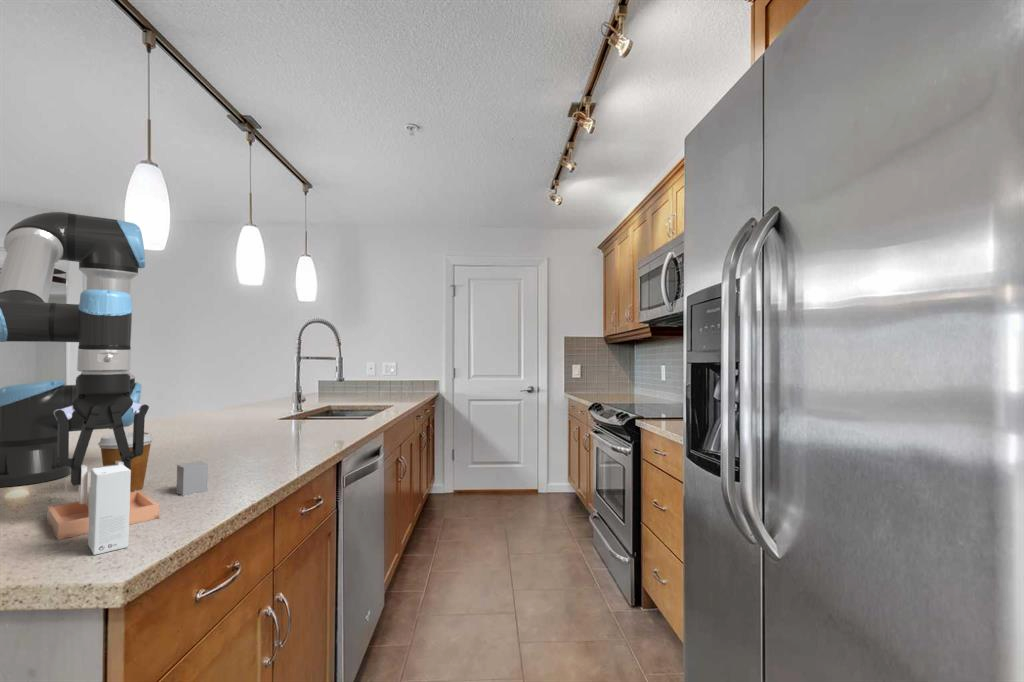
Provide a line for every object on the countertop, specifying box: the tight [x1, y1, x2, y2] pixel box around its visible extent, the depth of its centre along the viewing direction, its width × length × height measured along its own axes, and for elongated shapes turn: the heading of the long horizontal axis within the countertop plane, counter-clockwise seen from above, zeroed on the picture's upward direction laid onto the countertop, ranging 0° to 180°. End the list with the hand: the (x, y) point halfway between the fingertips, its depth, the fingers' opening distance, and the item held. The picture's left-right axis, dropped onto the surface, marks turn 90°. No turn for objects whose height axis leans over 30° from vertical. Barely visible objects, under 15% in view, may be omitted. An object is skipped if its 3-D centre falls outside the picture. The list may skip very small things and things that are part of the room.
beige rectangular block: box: [85, 464, 116, 506], centre depth 87 cm, size 4×4×6 cm
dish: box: [46, 490, 160, 541], centre depth 85 cm, size 13×13×2 cm
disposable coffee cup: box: [97, 431, 154, 492], centre depth 104 cm, size 10×10×12 cm
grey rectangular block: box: [176, 461, 209, 497], centre depth 103 cm, size 4×4×6 cm
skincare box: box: [87, 465, 131, 556], centre depth 74 cm, size 6×4×12 cm
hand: (100, 498), depth 87 cm, fingers closed on beige rectangular block, 4 cm apart
